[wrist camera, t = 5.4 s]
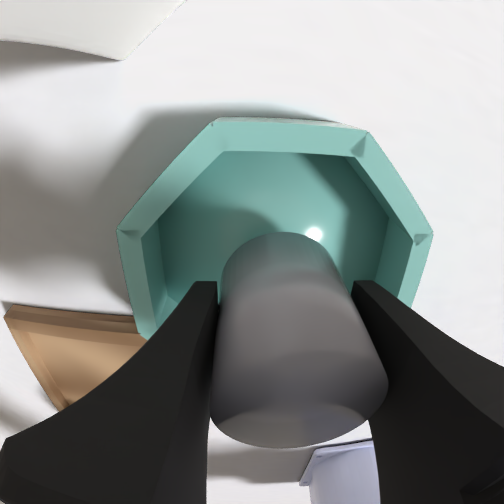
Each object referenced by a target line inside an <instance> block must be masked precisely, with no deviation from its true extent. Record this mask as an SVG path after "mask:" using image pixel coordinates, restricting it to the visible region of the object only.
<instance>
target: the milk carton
mask: <svg viewBox="0 0 504 504" xmlns="http://www.w3.org/2000/svg"><path fill="white" fill-rule="evenodd" d="M186 1H187V0H0V41H11V42H21V43H30V44H38V45H45V46H51V47H58V48H63V49H69V50H74V51H79V52H84V53H89V54H94V55H98V56H103V57H107V58H111V59H115V60H120V61H122V60H125V59H126V58H128V57H129V56H130V55H131V54H132V53H133V52H134V50H135V49H136V48H137V47H138V46H139V45H140V44H141V43H142V42H143V41H144V40H145V39H146V38H147V37H148V36H149V35H150V34H151V33H152V32H153V31H154V30H155V29H156V28H157V27H158V26H159V25H160V24H161V23H162V22H163V21H164V20H165V19H167V18H168V17H169V16H170V15H171V14H172V13H173V12H174V11H175V10H176V9H178V8H179V7H180V6H181V5H182V4H183V3H184V2H186Z"/></svg>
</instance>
